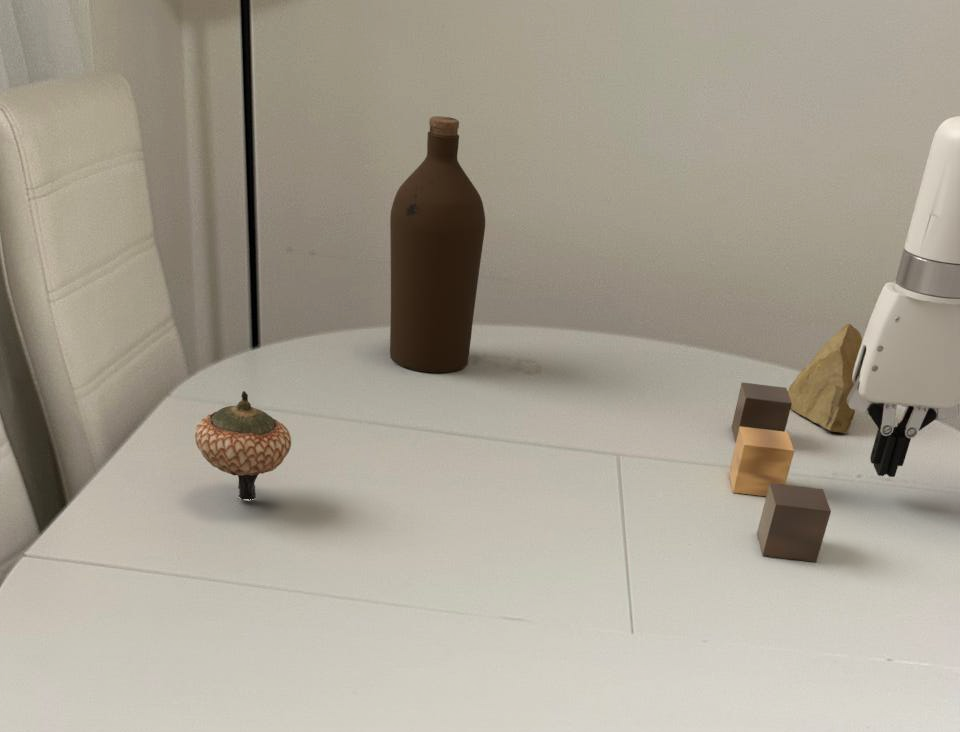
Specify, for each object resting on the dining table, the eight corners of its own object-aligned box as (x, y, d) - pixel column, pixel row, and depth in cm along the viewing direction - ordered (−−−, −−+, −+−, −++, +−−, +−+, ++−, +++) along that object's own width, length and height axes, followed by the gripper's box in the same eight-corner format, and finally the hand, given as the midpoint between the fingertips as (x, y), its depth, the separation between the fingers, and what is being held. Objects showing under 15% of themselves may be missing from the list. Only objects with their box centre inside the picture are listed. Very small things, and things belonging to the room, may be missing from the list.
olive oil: (468, 379, 140) (489, 133, 124) (378, 368, 140) (387, 121, 124) (476, 351, 148) (497, 117, 132) (391, 341, 148) (401, 105, 132)
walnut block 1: (775, 432, 136) (786, 387, 133) (780, 448, 132) (792, 403, 129) (731, 426, 136) (741, 382, 133) (735, 443, 132) (745, 397, 129)
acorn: (182, 508, 107) (175, 395, 101) (225, 475, 113) (220, 367, 107) (268, 528, 106) (265, 414, 99) (306, 493, 112) (306, 384, 105)
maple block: (776, 479, 125) (788, 431, 122) (781, 498, 121) (794, 450, 118) (728, 473, 125) (739, 425, 122) (732, 492, 121) (744, 444, 118)
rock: (877, 423, 135) (883, 383, 141) (848, 354, 130) (855, 317, 137) (786, 461, 141) (796, 422, 147) (755, 397, 137) (767, 360, 143)
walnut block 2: (808, 539, 114) (823, 488, 111) (816, 562, 111) (831, 511, 107) (756, 532, 114) (769, 482, 111) (762, 556, 111) (775, 504, 107)
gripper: (1011, 272, 112) (949, 463, 124) (851, 258, 113) (804, 450, 124) (1033, 295, 107) (966, 493, 118) (865, 279, 107) (814, 479, 119)
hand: (883, 470), depth 121 cm, fingers closed
